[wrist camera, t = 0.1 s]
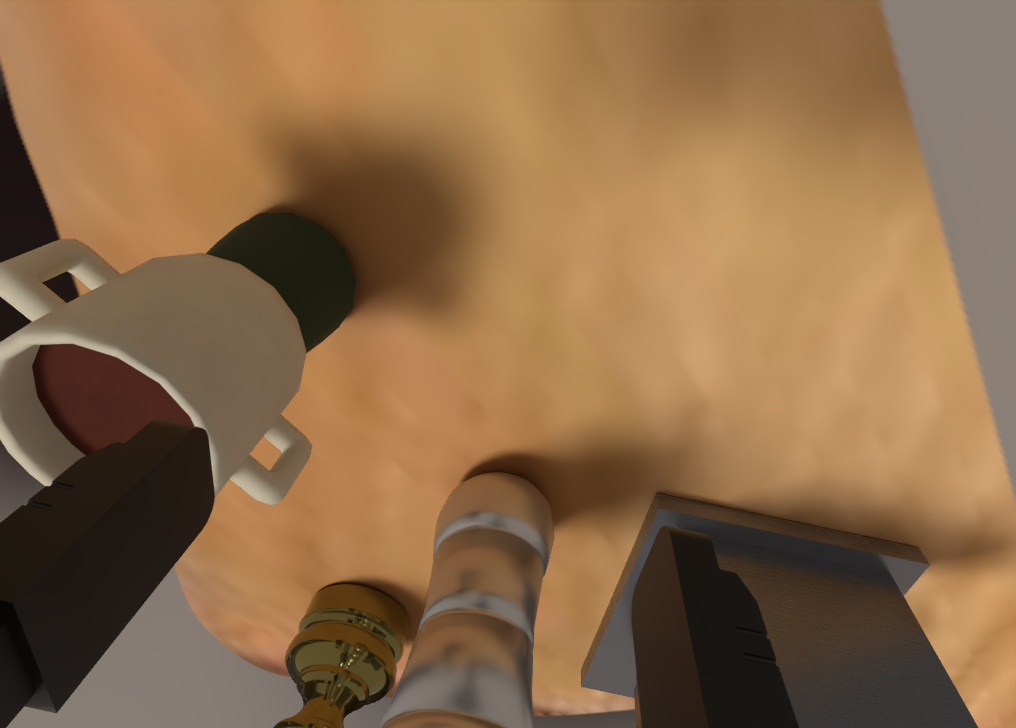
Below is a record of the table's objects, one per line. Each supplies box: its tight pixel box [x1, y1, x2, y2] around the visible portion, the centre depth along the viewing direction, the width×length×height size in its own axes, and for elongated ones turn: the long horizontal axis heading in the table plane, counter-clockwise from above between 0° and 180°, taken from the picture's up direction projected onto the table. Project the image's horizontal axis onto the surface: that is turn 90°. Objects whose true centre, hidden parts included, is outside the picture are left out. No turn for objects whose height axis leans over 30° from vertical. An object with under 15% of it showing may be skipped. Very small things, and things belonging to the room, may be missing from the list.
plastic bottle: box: [379, 472, 554, 728], centre depth 25 cm, size 6×7×20 cm
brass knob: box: [273, 584, 409, 728], centre depth 36 cm, size 7×7×10 cm
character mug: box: [0, 213, 355, 505], centre depth 22 cm, size 11×7×13 cm, turn 39°
